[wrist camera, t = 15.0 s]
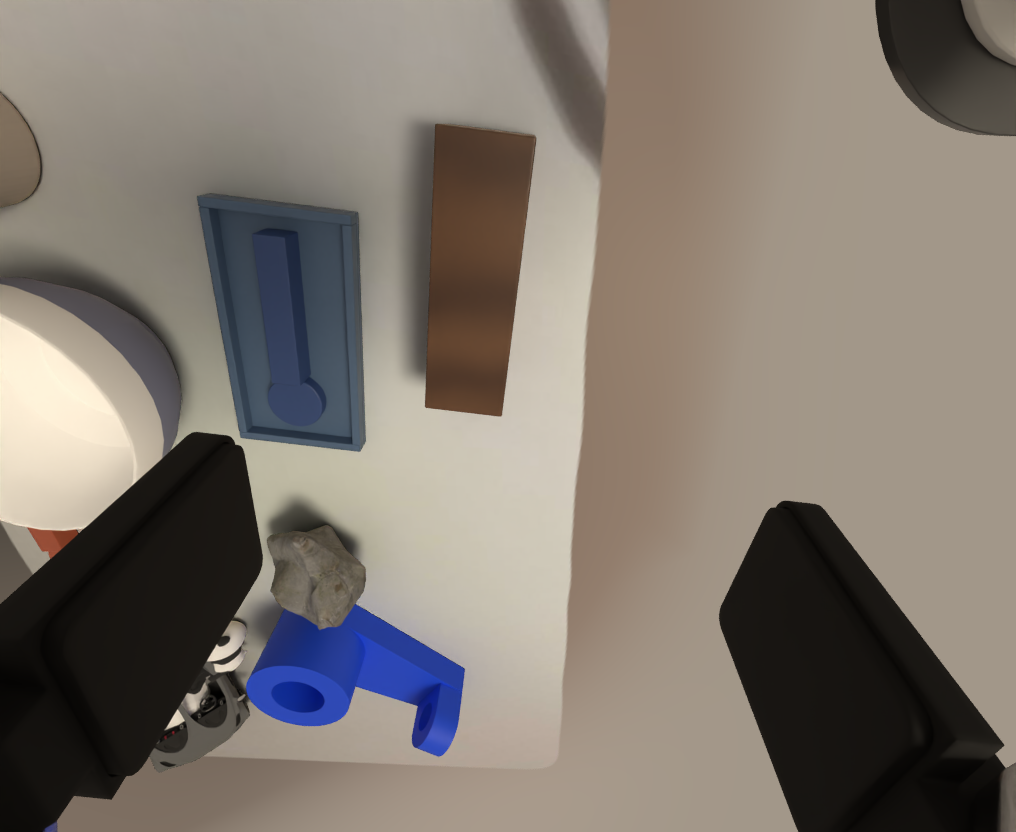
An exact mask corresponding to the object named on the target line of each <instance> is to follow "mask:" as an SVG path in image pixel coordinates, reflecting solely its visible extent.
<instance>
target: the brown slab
mask: <svg viewBox="0 0 1016 832" xmlns="http://www.w3.org/2000/svg"><path fill="white" fill-rule="evenodd" d="M535 146H536V136H535V135H530V134H522V133H514V132H507V131H499V130H492V129H484V128H476V127H469V126H461V125H454V124H436V125H435V143H434V171H433V199H432V226H431V254H430V282H429V310H428V338H427V366H426V393H425V407H426V408H433V409H441V410H449V411H458V412H466V413H475V414H483V415H492V416H502V410H503V402H504V394H505V386H506V378H507V370H508V362H509V354H510V346H511V338H512V330H513V322H514V314H515V306H516V298H517V290H518V282H519V274H520V266H521V258H522V250H523V242H524V234H525V226H526V218H527V210H528V202H529V194H530V186H531V178H532V170H533V162H534V154H535Z"/></svg>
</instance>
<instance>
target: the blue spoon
mask: <svg viewBox="0 0 1016 832" xmlns="http://www.w3.org/2000/svg"><path fill="white" fill-rule="evenodd" d="M252 239H253V246H254V254H255V261H256V268H257V276H258V283H259V290H260V298H261V305H262V312H263V320H264V327H265V334H266V342H267V349H268V356H269V364H270V371H271V378H272V383H274V384H273V385H272V386H271V387H270V389H269V392H268V403H269V406H270V408H271V410H272V411H273V413H274V414H275V415H276V416H277V417H278V418H279V419H281V420H282V421H284V422H286V423H288V424H290V425H294V426H308V425H311V424H313V423H315V422H316V421H317V420H318V419H319V418H320V417H321V415H322V414H323V413H324V411H325V409H326V405H327V400H326V395H325V393H324V391H323V389H322V388H321V386H320V385H319V384H318V383H317V382H316V381H315V380H313V379H312V378H310V377H309V376H310V375H311V370H310V359H309V348H308V338H307V327H306V316H305V305H304V294H303V284H302V273H301V262H300V251H299V240H298V232H295V231H287V230H279V229H271V228H266V229H263V230H261V231H258V232H255V233H253V234H252Z"/></svg>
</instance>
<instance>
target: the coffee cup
mask: <svg viewBox="0 0 1016 832" xmlns="http://www.w3.org/2000/svg"><path fill="white" fill-rule="evenodd" d="M39 177H40V158H39V152H38V149H37V146H36V143H35V140H34V138H33V135H32V133H31V131H30V129H29V128H28V126H27V124H26V123H25V121H24V120H23V118H22V117H21V115H20V114H19V113H18V111H17V110H16V109H15V107H14V106H13V105H12V104H11V103H10V102H9V101H8V100H7V99H6V98H5V97H4V96H3V95H2V94H1V93H0V208H1V207H5V206H9V205H13V204H16V203H19V202H21V201H23V200H24V199H26V198H27V197H29V196H30V195H31V194H32V193H33V191H34V189H35V188H36V186H37V184H38V181H39Z"/></svg>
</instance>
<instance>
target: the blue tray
mask: <svg viewBox="0 0 1016 832" xmlns="http://www.w3.org/2000/svg"><path fill="white" fill-rule="evenodd" d="M197 200H198V205H199V206H200V207H199V211H200V217H201V222H202V228H203V233H204V239H205V244H206V250H207V255H208V261H209V266H210V272H211V277H212V283H213V289H214V294H215V300H216V305H217V311H218V316H219V322H220V327H221V333H222V338H223V344H224V349H225V355H226V360H227V366H228V371H229V377H230V382H231V388H232V394H233V399H234V405H235V410H236V416H237V421H238V427H239V431H240V437H241V438H246V439H255V440H263V441H272V442H281V443H289V444H298V445H306V446H315V447H324V448H332V449H341V450H349V451H358V452H360V451H361V449H362V447H363V445H364V444H365V442H366V436H365V405H364V375H363V345H362V315H361V284H360V254H359V224H358V212H354V211H346V210H338V209H330V208H322V207H314V206H307V205H299V204H291V203H283V202H275V201H267V200H259V199H251V198H244V197H236V196H228V195H220V194H212V193H210V194H205V195H200V196H197ZM266 228H271V229H279V230H287V231H295V232H298V240H299V251H300V262H301V273H302V284H303V294H304V305H305V316H306V327H307V338H308V348H309V359H310V370H311V375H310V376H309V377H310V378H312V379H313V380H315V381H316V382H317V383H318V384H319V385H320V386H321V388H322V389H323V391H324V393H325V395H326V400H327V405H326V409H325V411H324V413H323V414H322V415H321V417H320V418H319V419H318V420H317V421H316V422H315V423H313V424H311V425H308V426H294V425H290V424H288V423H286V422H284V421H282V420H281V419H279V418H278V417H277V416H276V415H275V414H274V413H273V411H272V410H271V408H270V406H269V403H268V392H269V389H270V387H271V386H272V385H273V384H274V383H272V378H271V371H270V364H269V356H268V349H267V342H266V334H265V327H264V320H263V312H262V305H261V298H260V290H259V283H258V276H257V268H256V261H255V254H254V246H253V239H252V234H253V233H255V232H258V231H261V230H263V229H266Z"/></svg>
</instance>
